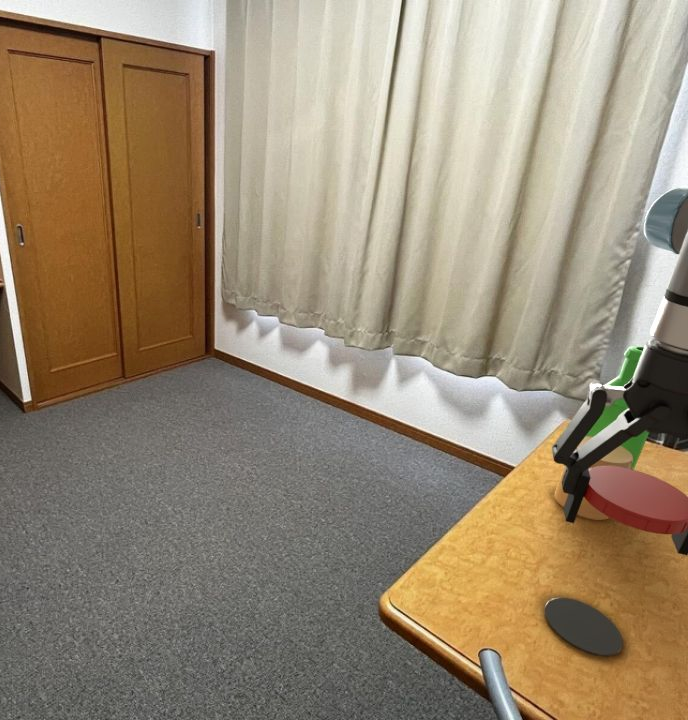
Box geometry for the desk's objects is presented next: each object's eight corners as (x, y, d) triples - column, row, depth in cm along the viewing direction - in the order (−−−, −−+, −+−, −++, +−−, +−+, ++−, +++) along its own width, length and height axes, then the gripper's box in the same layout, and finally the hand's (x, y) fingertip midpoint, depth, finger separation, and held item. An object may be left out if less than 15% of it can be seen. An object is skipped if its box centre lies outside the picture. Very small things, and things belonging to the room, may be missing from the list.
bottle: (565, 471, 90) (607, 349, 80) (575, 452, 95) (615, 336, 85) (625, 493, 84) (678, 364, 74) (632, 471, 89) (682, 348, 79)
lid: (714, 530, 49) (721, 516, 48) (633, 538, 48) (639, 524, 47) (631, 475, 57) (636, 462, 56) (561, 481, 56) (565, 469, 55)
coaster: (614, 617, 62) (616, 613, 61) (627, 671, 55) (629, 666, 55) (541, 592, 65) (542, 588, 65) (545, 640, 59) (546, 635, 59)
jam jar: (607, 499, 82) (629, 443, 78) (615, 528, 76) (639, 469, 72) (551, 485, 86) (569, 431, 82) (555, 512, 80) (575, 454, 75)
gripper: (848, 354, 43) (741, 543, 52) (557, 319, 53) (509, 482, 62) (904, 387, 37) (772, 594, 46) (563, 340, 47) (510, 517, 56)
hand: (621, 530), depth 54 cm, fingers closed on lid, 9 cm apart
